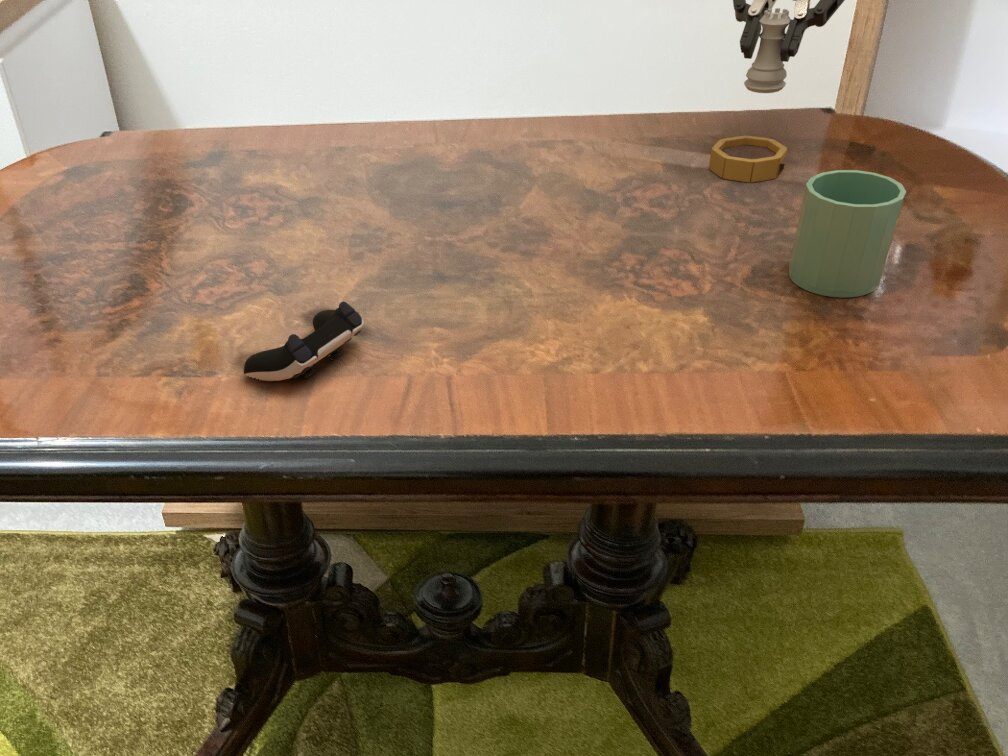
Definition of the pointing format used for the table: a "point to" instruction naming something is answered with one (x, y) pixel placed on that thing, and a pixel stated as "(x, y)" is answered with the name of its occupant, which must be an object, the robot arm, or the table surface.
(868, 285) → the green cup
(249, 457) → the table surface
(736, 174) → the holder ring
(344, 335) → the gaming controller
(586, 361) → the table surface
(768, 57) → the rook chess piece
